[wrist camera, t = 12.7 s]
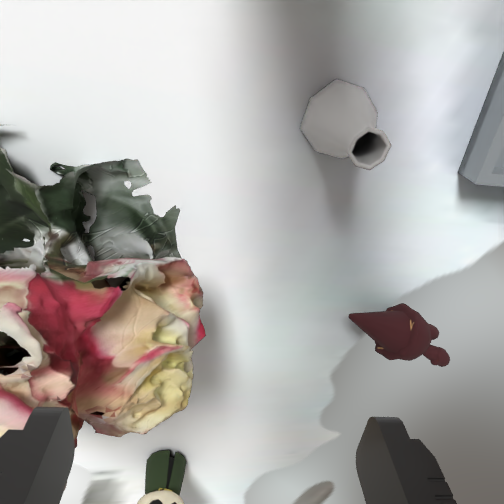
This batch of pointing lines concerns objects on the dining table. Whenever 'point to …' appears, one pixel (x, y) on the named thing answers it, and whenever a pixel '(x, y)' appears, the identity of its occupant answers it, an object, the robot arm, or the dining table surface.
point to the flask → (345, 125)
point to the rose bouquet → (93, 302)
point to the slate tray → (488, 138)
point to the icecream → (401, 334)
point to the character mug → (164, 478)
